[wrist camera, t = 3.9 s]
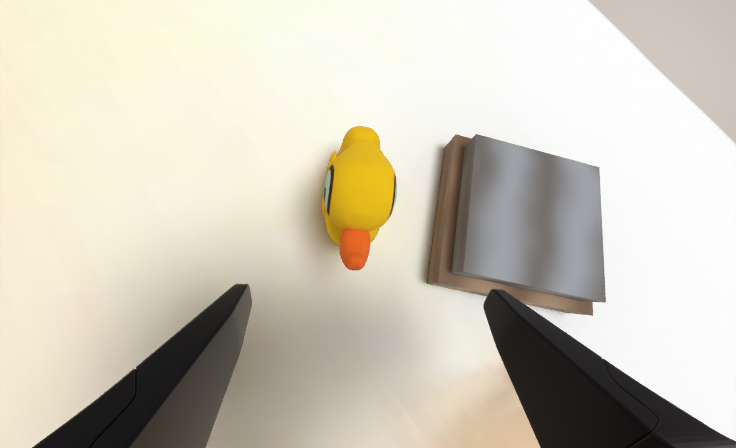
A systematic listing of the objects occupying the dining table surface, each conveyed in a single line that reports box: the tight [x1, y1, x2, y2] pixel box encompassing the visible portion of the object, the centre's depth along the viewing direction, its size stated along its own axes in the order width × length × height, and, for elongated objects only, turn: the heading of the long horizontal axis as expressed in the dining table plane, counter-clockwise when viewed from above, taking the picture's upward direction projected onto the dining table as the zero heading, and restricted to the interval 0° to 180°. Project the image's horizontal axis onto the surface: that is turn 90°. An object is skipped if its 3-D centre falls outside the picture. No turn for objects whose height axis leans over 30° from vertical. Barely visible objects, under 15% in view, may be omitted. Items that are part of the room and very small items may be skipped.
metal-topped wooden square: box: [427, 134, 606, 315], centre depth 24 cm, size 14×14×4 cm
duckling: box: [321, 126, 397, 270], centre depth 19 cm, size 11×5×10 cm, turn 175°
